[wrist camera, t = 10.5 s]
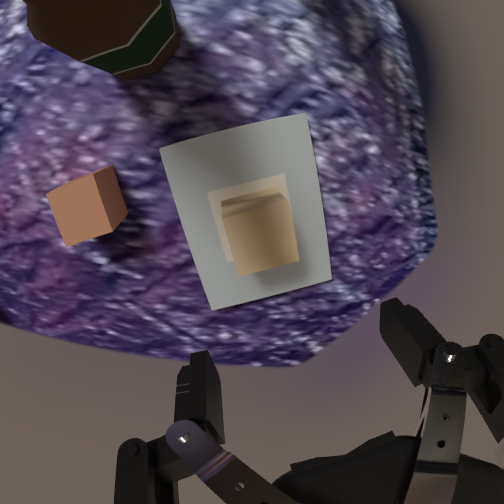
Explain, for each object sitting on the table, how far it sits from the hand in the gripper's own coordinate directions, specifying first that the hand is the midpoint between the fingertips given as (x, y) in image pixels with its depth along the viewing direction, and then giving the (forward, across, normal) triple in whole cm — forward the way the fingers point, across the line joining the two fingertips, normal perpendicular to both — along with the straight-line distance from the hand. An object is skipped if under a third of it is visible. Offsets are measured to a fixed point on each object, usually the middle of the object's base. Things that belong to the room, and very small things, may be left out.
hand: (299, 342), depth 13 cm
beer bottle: (+18, +6, -19) cm, 27 cm away
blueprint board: (+18, 0, 0) cm, 18 cm away
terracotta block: (+18, +14, -6) cm, 23 cm away
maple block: (+16, 0, 0) cm, 16 cm away
